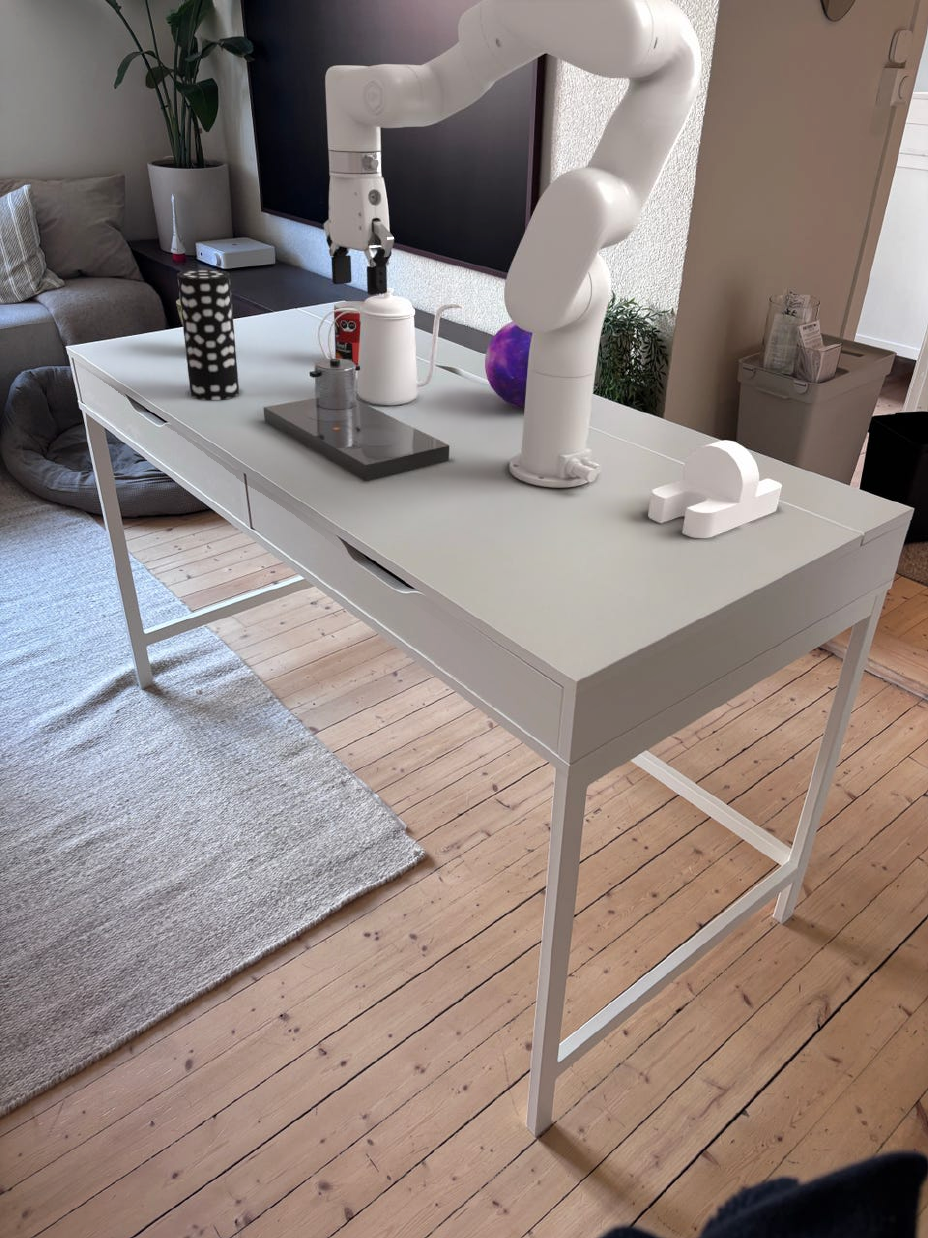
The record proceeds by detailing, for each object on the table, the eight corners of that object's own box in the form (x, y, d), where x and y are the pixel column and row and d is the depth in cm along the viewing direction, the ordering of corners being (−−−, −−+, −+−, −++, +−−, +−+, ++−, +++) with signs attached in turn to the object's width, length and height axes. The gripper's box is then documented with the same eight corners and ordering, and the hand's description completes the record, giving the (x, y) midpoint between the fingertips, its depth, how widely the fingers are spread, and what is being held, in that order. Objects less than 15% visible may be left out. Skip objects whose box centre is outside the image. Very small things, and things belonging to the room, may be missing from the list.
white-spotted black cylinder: (191, 401, 160) (177, 279, 150) (189, 386, 167) (176, 269, 157) (240, 399, 162) (230, 278, 152) (237, 384, 169) (227, 268, 159)
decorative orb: (494, 388, 174) (499, 305, 166) (574, 398, 171) (582, 314, 163) (473, 412, 161) (477, 323, 154) (558, 423, 158) (566, 333, 150)
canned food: (330, 358, 186) (328, 301, 181) (368, 355, 189) (367, 299, 184) (342, 369, 180) (341, 310, 175) (381, 365, 183) (381, 308, 178)
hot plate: (449, 460, 141) (449, 444, 140) (366, 481, 133) (365, 464, 132) (342, 406, 161) (342, 392, 160) (264, 421, 153) (263, 406, 151)
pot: (369, 404, 155) (369, 360, 151) (323, 413, 150) (321, 368, 146) (348, 394, 159) (347, 351, 155) (302, 402, 154) (300, 358, 150)
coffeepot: (456, 412, 161) (461, 299, 151) (314, 401, 163) (309, 289, 153) (462, 393, 170) (467, 286, 161) (327, 383, 172) (324, 276, 162)
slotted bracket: (700, 541, 120) (714, 469, 115) (643, 515, 127) (654, 446, 122) (780, 509, 131) (796, 442, 126) (724, 486, 137) (737, 422, 132)
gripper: (411, 168, 131) (412, 295, 139) (344, 159, 142) (349, 277, 151) (366, 170, 127) (370, 300, 135) (301, 161, 138) (309, 281, 147)
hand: (359, 288), depth 143 cm, fingers open, 9 cm apart
